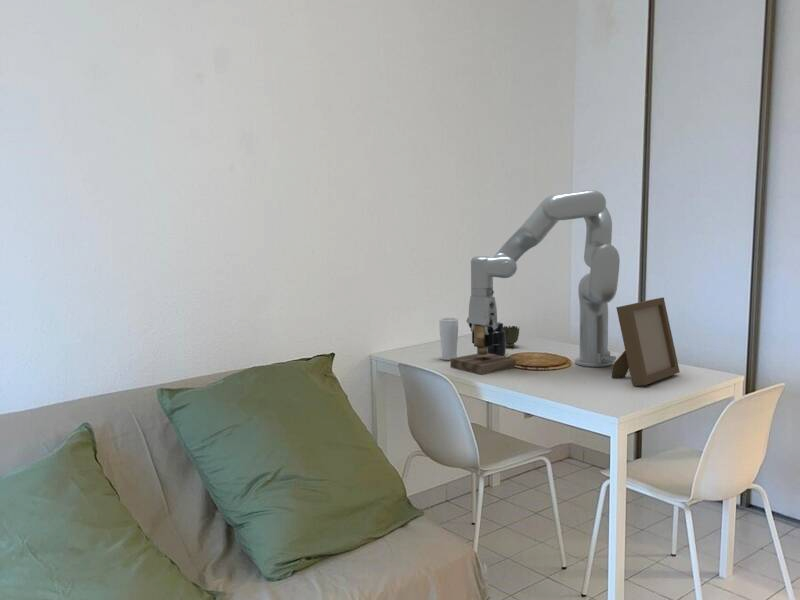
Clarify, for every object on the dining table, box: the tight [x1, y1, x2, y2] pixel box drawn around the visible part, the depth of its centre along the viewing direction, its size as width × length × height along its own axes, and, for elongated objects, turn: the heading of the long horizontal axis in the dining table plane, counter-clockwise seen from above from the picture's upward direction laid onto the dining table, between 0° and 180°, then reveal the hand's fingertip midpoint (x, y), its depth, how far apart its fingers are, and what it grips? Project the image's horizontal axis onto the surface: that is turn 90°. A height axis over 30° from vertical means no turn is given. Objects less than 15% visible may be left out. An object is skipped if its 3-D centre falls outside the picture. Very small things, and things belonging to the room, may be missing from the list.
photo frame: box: [611, 297, 681, 387], centre depth 241 cm, size 15×22×25 cm
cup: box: [502, 325, 520, 349], centre depth 298 cm, size 8×7×8 cm
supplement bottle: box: [487, 321, 507, 357], centre depth 283 cm, size 7×7×12 cm
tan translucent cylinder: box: [473, 325, 490, 355], centre depth 263 cm, size 6×6×10 cm
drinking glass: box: [439, 317, 459, 361], centre depth 277 cm, size 7×7×15 cm
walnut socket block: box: [449, 353, 517, 376], centre depth 264 cm, size 16×16×3 cm
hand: (482, 343), depth 263 cm, fingers closed on tan translucent cylinder, 5 cm apart
